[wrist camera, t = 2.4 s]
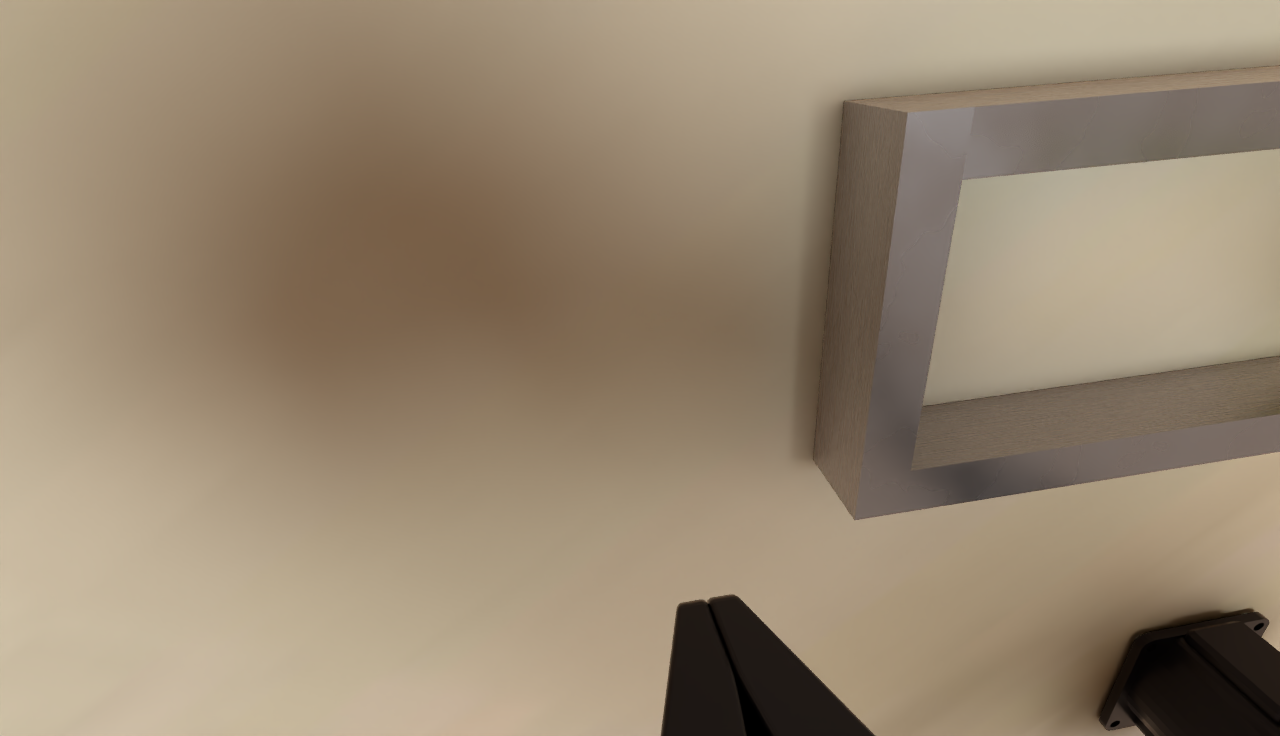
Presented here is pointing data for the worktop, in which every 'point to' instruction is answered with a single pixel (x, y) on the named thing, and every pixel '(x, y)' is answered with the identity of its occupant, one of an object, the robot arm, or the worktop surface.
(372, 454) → the worktop surface
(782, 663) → the robot arm
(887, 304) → the u collar
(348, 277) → the worktop surface
